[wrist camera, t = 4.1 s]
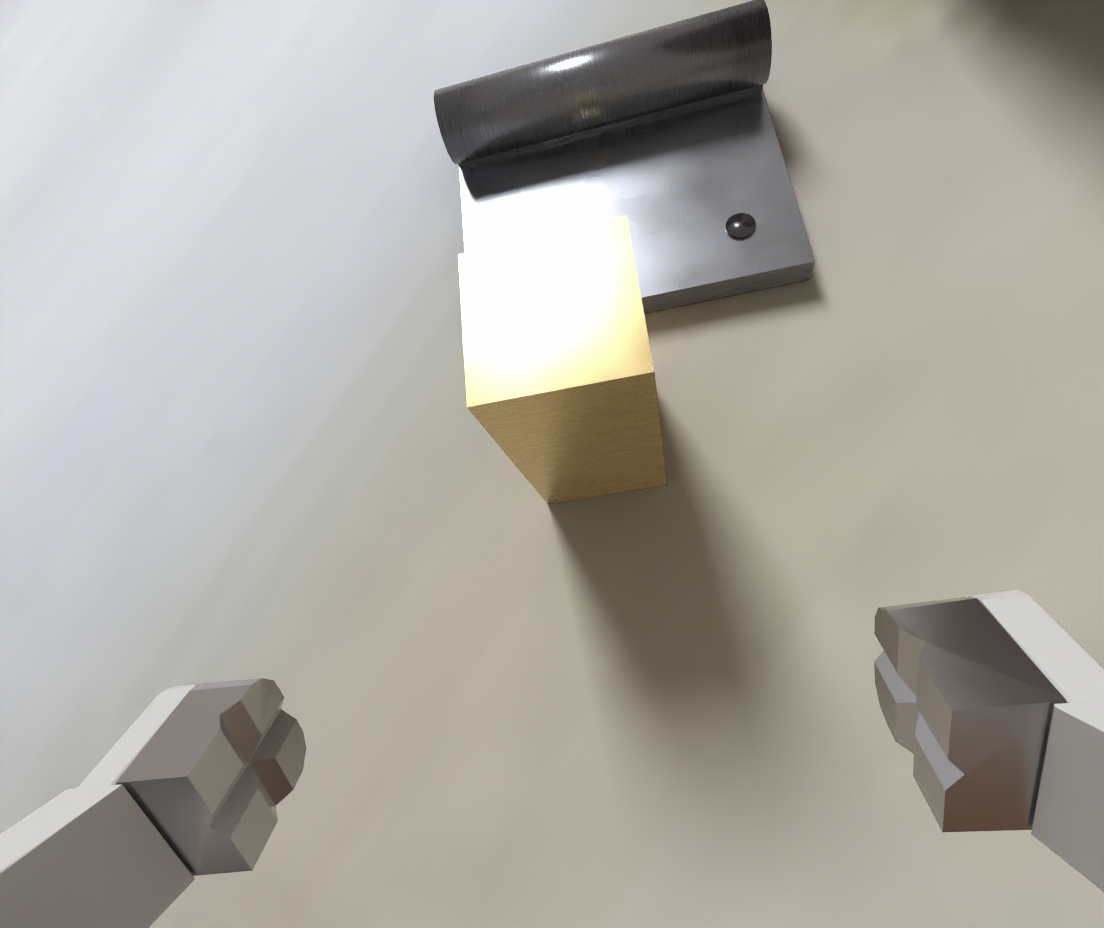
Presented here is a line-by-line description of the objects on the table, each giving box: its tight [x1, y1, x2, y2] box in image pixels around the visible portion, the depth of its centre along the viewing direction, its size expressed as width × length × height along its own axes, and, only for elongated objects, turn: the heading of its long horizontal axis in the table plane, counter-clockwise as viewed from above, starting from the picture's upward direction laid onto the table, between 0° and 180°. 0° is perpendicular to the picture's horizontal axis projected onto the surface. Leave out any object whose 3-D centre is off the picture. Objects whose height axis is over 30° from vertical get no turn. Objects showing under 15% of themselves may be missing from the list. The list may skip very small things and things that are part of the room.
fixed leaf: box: [434, 0, 815, 313], centre depth 22 cm, size 10×12×4 cm
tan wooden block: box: [458, 215, 667, 504], centre depth 17 cm, size 4×4×8 cm
